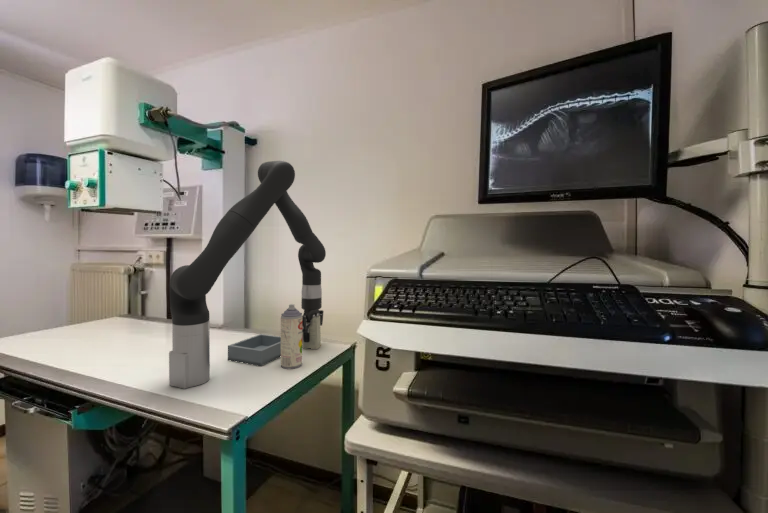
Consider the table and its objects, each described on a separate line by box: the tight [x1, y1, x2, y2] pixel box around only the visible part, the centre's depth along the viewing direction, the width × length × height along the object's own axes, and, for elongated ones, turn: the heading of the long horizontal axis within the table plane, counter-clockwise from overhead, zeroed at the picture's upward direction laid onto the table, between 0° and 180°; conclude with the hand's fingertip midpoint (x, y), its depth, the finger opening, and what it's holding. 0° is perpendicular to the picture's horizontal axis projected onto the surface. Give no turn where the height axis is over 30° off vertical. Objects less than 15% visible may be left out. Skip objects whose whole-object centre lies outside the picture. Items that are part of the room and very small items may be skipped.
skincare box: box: [302, 315, 322, 350], centre depth 128 cm, size 6×4×12 cm
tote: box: [227, 333, 281, 367], centre depth 119 cm, size 16×14×5 cm
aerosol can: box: [280, 303, 303, 370], centre depth 110 cm, size 7×7×20 cm
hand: (311, 339), depth 129 cm, fingers open, 5 cm apart
